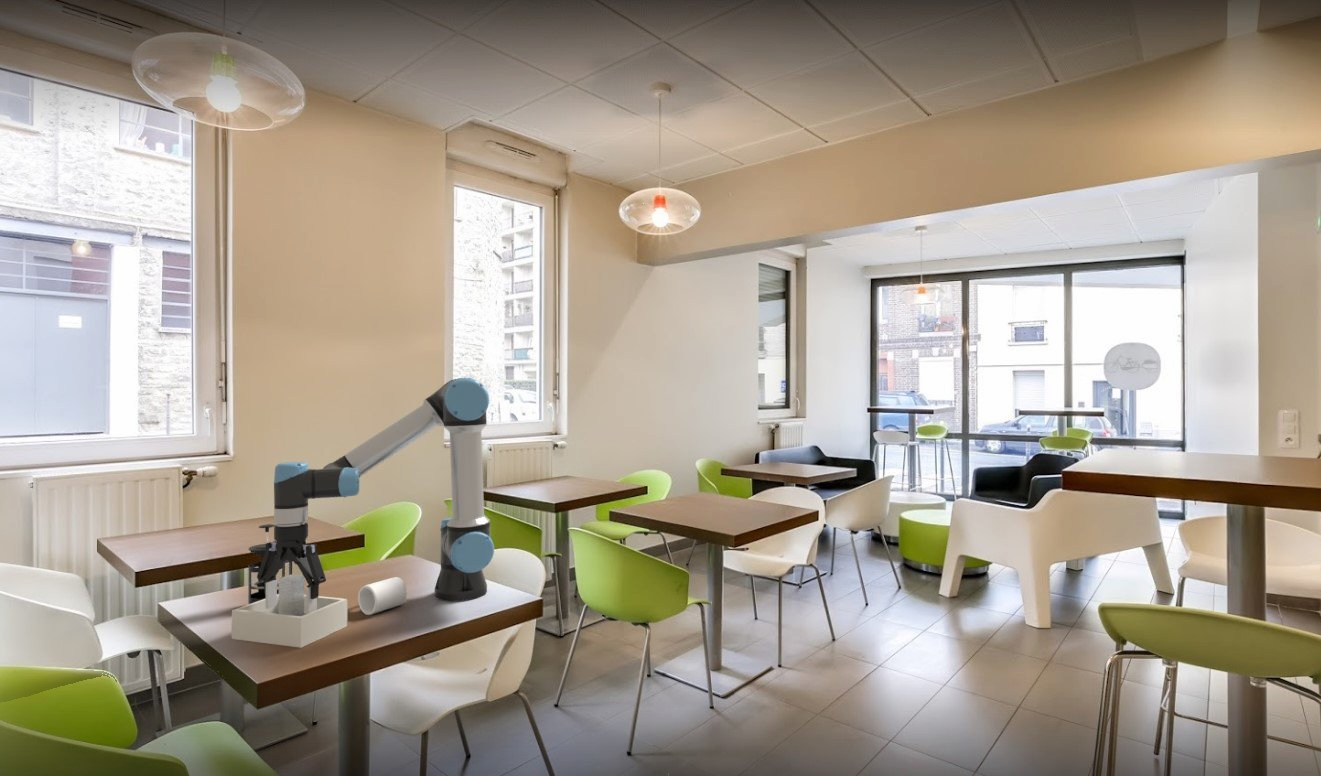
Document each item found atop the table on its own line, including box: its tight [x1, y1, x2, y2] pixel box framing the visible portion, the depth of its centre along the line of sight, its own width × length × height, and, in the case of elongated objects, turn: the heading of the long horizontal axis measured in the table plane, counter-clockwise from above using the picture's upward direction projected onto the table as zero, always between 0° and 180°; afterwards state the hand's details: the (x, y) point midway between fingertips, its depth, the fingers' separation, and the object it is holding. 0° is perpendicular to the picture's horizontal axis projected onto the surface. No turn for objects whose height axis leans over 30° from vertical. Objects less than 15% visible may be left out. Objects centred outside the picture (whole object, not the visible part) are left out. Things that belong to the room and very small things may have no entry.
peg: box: [278, 573, 305, 616], centre depth 165 cm, size 4×4×14 cm
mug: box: [357, 576, 408, 616], centre depth 184 cm, size 12×10×8 cm
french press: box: [247, 523, 293, 605], centre depth 187 cm, size 12×9×23 cm
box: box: [231, 594, 348, 649], centre depth 165 cm, size 21×15×7 cm
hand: (291, 609), depth 165 cm, fingers open, 12 cm apart
